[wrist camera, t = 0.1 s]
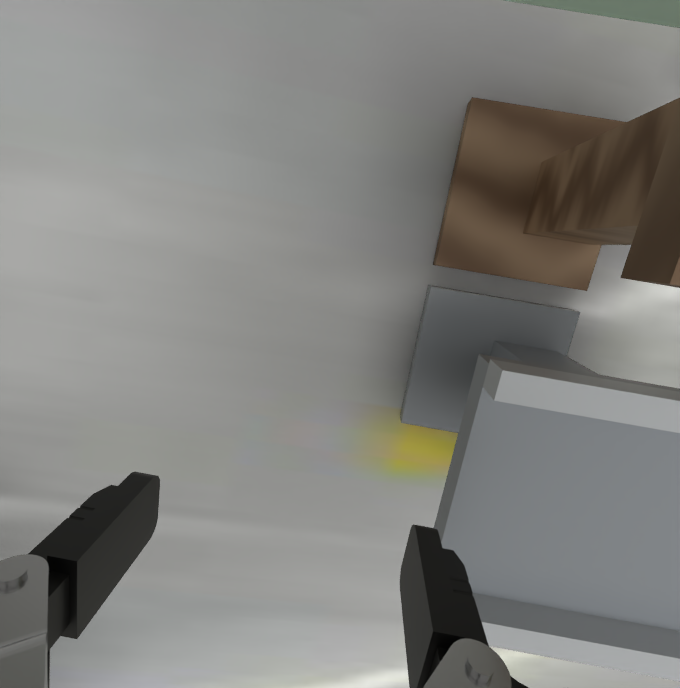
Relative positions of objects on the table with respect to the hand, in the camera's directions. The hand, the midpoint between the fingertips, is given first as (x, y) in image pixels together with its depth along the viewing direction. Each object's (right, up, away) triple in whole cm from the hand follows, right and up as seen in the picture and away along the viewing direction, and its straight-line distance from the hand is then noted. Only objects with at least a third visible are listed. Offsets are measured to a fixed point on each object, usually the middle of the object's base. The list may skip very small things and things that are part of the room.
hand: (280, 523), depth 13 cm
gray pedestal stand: (+16, +3, +28) cm, 33 cm away
